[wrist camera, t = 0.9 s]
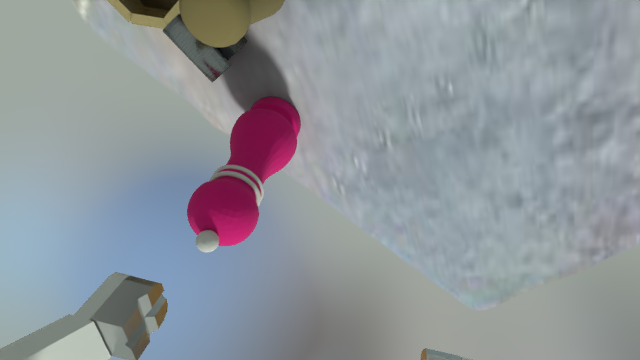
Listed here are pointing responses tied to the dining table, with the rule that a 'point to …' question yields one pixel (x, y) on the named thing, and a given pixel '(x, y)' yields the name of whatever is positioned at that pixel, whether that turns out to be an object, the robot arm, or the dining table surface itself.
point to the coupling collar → (147, 11)
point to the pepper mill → (244, 174)
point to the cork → (224, 18)
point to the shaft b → (201, 49)
